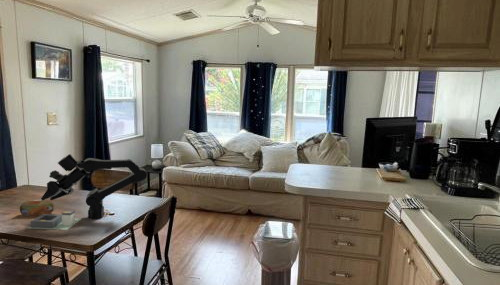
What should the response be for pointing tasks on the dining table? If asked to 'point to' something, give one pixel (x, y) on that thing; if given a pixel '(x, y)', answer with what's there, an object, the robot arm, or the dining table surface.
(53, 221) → the grey flat square frame
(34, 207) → the tin
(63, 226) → the circuit board
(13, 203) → the dining table surface
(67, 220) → the plug
